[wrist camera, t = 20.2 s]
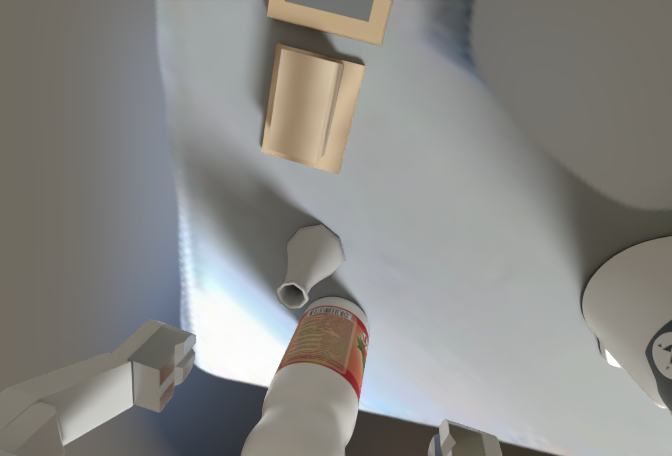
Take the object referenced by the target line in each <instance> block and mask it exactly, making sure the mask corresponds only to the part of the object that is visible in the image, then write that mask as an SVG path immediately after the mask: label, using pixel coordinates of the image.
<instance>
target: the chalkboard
mask: <svg viewBox="0 0 672 456" xmlns="http://www.w3.org/2000/svg"><path fill="white" fill-rule="evenodd" d="M392 2H393V0H269V4H268V12H267V16H268V17H270V18H272V19H275V20H279V21H283V22H287V23H291V24H295V25H299V26H303V27H307V28H311V29H315V30H319V31H323V32H327V33H331V34H335V35H339V36H343V37H347V38H351V39H355V40H359V41H363V42H367V43H371V44H375V45H379V46H381V45H382V41H383V37H384V34H385V30H386V26H387V22H388V18H389V14H390V10H391V6H392Z"/></svg>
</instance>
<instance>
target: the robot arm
mask: <svg viewBox="0 0 672 456" xmlns="http://www.w3.org/2000/svg"><path fill="white" fill-rule="evenodd" d="M582 308H583V314H584V318H585V320H586V322H587V324H588V326H589V327H590V329H591V330H592V331H593V332H594V333H595V335H596V336H597V337H598V339H599V341H600V350H601V354H602V357H603V358H604V359H605V360H606V361H607V362H608V363H609V364H610V365H612V366H615V367H621V368H623V369H624V370H625V372H626V373H627V374H628V375H629V376H630V377H631V378H632V379H633V381H634V382H635V383H636V384H637V385H638V386H639V387H640V388H641V389H642V391H643V392H644V393H645V394H646V395H647V396H648V397H649V398H650V399H651V400H652V401H653V402H654V403H655V404H656V405H657V406H659V407H661V408H667V409H669V410H670V411H671V414H672V236H669V237H664V238H659V239H654V240H650V241H646V242H643V243H640V244H637V245H635V246H632V247H630V248H628V249H626V250H624V251H622V252H620V253H619V254H617V255H615V256H614V257H612V258H611V259H610V260H608V261H607V262H606V263H605V264H604V265H603V266H601V267H600V268H599V269H598V271H597V272H596V273H595V274H594V275H593V277H592V278H591V280H590V281H589V283H588V285H587V287H586V289H585V292H584V296H583V302H582ZM195 343H196V335H194V334H192V333H189V332H187V331H184V330H181V329H179V328H176V327H173V326H171V325H168V324H165V323H162V322H159V321H157V320H153V319H151V320H149V321H147V322H146V323H144V324H143V325H142V326H141V327H140V328H139V329H138V330H137V331H136V332H134V333H133V334H132V335H131V336H130V337H129V338H128V339H127V340H126V341H124V342H123V343H122V344H121V345H120V346H119V347H118V348H117V349H116V350H114V351H113V352H112V353H111V354H108V353H104V354H101V355H98V356H95V357H93V358H90V359H87V360H84V361H81V362H79V363H76V364H73V365H70V366H67V367H64V368H62V369H59V370H56V371H53V372H50V373H47V374H45V375H42V376H39V377H36V378H33V379H30V380H28V381H25V382H22V383H19V384H16V385H13V386H11V387H8V388H7V389H5V390H4V391H3V392H2V393H0V456H65V452H64V447H63V446H64V445H66V444H67V443H69V442H71V441H73V440H74V439H76V438H78V437H80V436H81V435H83V434H85V433H86V432H88V431H90V430H92V429H94V428H95V427H97V426H99V425H100V424H102V423H104V422H105V421H107V420H109V419H111V418H113V417H114V416H116V415H118V414H120V413H121V412H123V411H125V410H127V409H128V408H130V407H132V406H133V404H135V405H138V406H141V407H144V408H147V409H150V410H153V411H156V412H159V413H160V411H161V410H162V409H163V407H164V406H165V405H166V403H167V402H168V401H169V400H170V398H171V397H172V395H173V394H174V386H176V385H178V384H180V383H182V382H183V381H184V380H185V378H186V377H187V375H188V374H189V372H190V370H191V368H192V366H193V363H194V359H195V352H194V350H193V349H192V347H193V346H194V345H195ZM439 430H440V433H439V434H437V435H434V437H433V439H432V441H431V443H430V447H429V451H428V456H502V453H501V449H500V445H499V441H498V439H497V437H496V436H494V435H491V434H488V433H485V432H482V431H479V430H477V429H474V428H471V427H468V426H465V425H462V424H459V423H456V422H453V421H449V420H446V419H445V420H443V421H442V423H441V424H440V426H439Z"/></svg>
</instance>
